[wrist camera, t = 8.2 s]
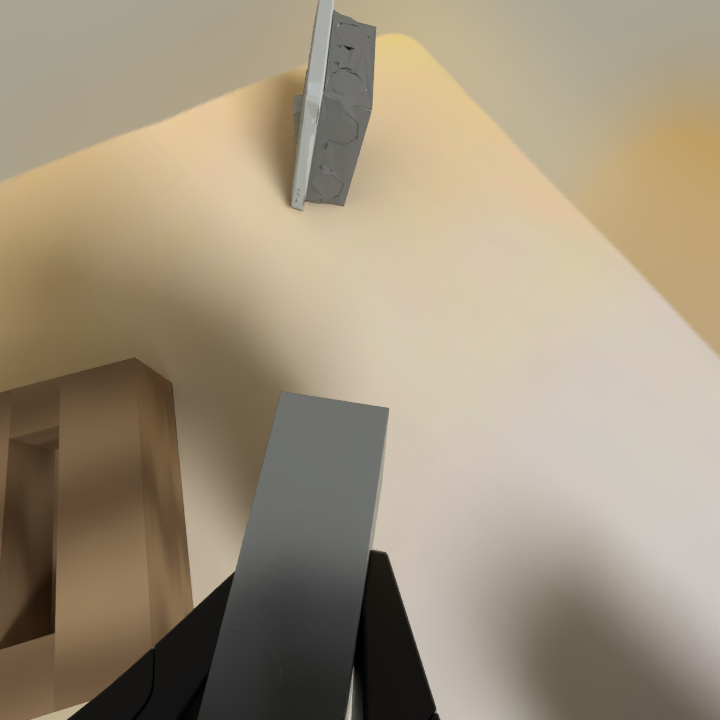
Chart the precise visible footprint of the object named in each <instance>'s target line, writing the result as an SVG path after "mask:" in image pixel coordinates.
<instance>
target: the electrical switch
mask: <svg viewBox="0 0 720 720" xmlns="http://www.w3.org/2000/svg"><path fill="white" fill-rule="evenodd" d="M333 6H334V0H319V1H318V6H317V11H316V16H315V22H314V27H313V34H312V42H311V49H310V55H309V62H308V69H307V72H306V78H305V85H304V93H303V95H295V100H294V104H293V115H294V125H295V135H296V144H297V149H296V157H295V166H294V174H293V182H292V195H291V204H292V207H293V208H296V209H299V210H302V211H303V210H304V203H305V200H309V201H313V202H318V203H330V204H335V205H341V206H344V204H345V200H346V197H347V193H348V190H349V187H350V183H351V180H352V176H353V173H354V169H355V166H356V163H357V159H358V156H359V152H360V149H361V145H362V142H363V139H364V135H365V132H366V128H367V125H368V122H369V118H370V115H371V111H369V110H372V101H373V80H374V60H375V39H376V27H375V26H371V25H367V24H363V23H359V22H356V21H355V20H353V19H352V18H350V17H347V16H344V15H341V14H339V13H338V12H336V11H335V10H333ZM366 88H367V90H366ZM365 90H366V91H365ZM357 106H358V107H357ZM360 107H362V108H360ZM363 108H365V109H363ZM366 109H368V110H366ZM355 138H356V139H355ZM354 139H355V140H354Z"/></svg>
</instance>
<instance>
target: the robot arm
mask: <svg viewBox="0 0 720 720" xmlns="http://www.w3.org/2000/svg"><path fill="white" fill-rule="evenodd" d="M234 574H235V572H234V573H233V574H231V575H230V576H229V577H228V578H227V579H226V580H225V581H224V582H223V583H222V584H221V585H220V586H218V587H217V588H216V589H215V590H214V591H213V592H212V593H211V594H210V595H209V596H208V597H206V598H205V599H204V600H203V601H202V602H201V603H200V604H199V605H198V606H197V607H196V608H195V609H193V610H192V611H191V612H190V613H189V614H188V615H187V616H186V617H185V618H184V619H183V620H181V621H180V622H179V623H178V624H177V625H176V626H175V627H174V628H173V629H172V630H171V631H169V632H168V633H167V634H166V635H165V636H164V637H163V638H162V639H161V640H160V641H159V642H158V643H156V644H155V647H154V648H151V649H150V650H149V651H147V652H146V653H145V654H144V655H143V656H142V657H141V658H140V659H139V660H138V661H137V662H136V663H134V664H133V665H132V666H131V667H130V668H129V669H128V670H127V671H125V672H124V673H123V674H122V675H121V676H120V677H119V678H117V679H116V680H115V681H114V682H113V683H112V684H111V685H109V686H108V687H107V688H106V689H105V690H103V691H102V692H101V693H100V694H98V695H97V696H96V697H95V698H94V699H92V700H91V701H90V702H89V703H87V704H86V705H85V706H84V707H82V708H81V709H80V710H79V711H77V712H76V713H75V714H74V715H72V716H71V717H70V718H69V719H67V720H197V719H198V715H199V711H200V707H201V703H202V699H203V695H204V692H205V688H206V684H207V680H208V676H209V672H210V668H211V664H212V660H213V656H214V652H215V649H216V645H217V641H218V637H219V633H220V629H221V625H222V621H223V617H224V613H225V609H226V606H227V602H228V598H229V594H230V590H231V586H232V582H233V578H234ZM351 720H440V718H439V715H438V713H436V706H435V703H434V699H433V696H432V693H431V690H430V687H429V684H428V680H427V677H426V674H425V671H424V668H423V665H422V661H421V658H420V655H419V652H418V649H417V645H416V642H415V639H414V636H413V633H412V630H411V626H410V623H409V620H408V617H407V614H406V611H405V607H404V604H403V601H402V598H401V595H400V592H399V588H398V585H397V582H396V579H395V576H394V573H393V569H392V566H391V563H390V560H389V557H388V555H387V553H386V552H382V551H377V550H370V557H369V563H368V569H367V576H366V582H365V589H364V595H363V602H362V609H361V616H360V623H359V631H358V638H357V645H356V653H355V660H354V671H353V694H352V717H351Z"/></svg>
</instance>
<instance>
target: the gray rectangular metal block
mask: <svg viewBox="0 0 720 720" xmlns="http://www.w3.org/2000/svg"><path fill="white" fill-rule="evenodd" d="M388 415H389V408H385V407H379V406H372V405H366V404H359V403H353V402H346V401H340V400H333V399H327V398H320V397H314V396H307V395H301V394H294V393H288V392H281V394H280V398H279V402H278V406H277V410H276V414H275V418H274V422H273V426H272V430H271V433H270V437H269V441H268V445H267V449H266V453H265V457H264V461H263V465H262V469H261V473H260V476H259V480H258V484H257V488H256V492H255V496H254V500H253V504H252V508H251V512H250V516H249V520H248V523H247V527H246V531H245V535H244V539H243V543H242V547H241V551H240V555H239V559H238V563H237V566H236V570H235V574H234V578H233V582H232V586H231V590H230V594H229V598H228V602H227V606H226V609H225V613H224V617H223V621H222V625H221V629H220V633H219V637H218V641H217V645H216V649H215V652H214V656H213V660H212V664H211V668H210V672H209V676H208V680H207V684H206V688H205V692H204V695H203V699H202V703H201V707H200V711H199V715H198V719H197V720H348V714H349V707H350V700H351V693H352V686H353V671H354V660H355V653H356V645H357V638H358V631H359V623H360V616H361V609H362V602H363V595H364V589H365V582H366V576H367V569H368V563H369V557H370V550H372V547H373V540H374V534H375V527H376V520H377V513H378V506H379V499H380V492H381V485H382V477H383V467H384V456H385V446H386V436H387V425H388Z"/></svg>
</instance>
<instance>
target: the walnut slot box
mask: <svg viewBox="0 0 720 720" xmlns="http://www.w3.org/2000/svg"><path fill="white" fill-rule="evenodd" d="M192 610H193V600H192V590H191V579H190V569H189V559H188V548H187V538H186V527H185V517H184V506H183V496H182V485H181V475H180V464H179V454H178V443H177V433H176V422H175V412H174V401H173V391H172V383H171V382H169V381H168V380H166V379H165V378H164V377H162V376H161V375H159V374H158V373H156V372H155V371H153V370H152V369H151V368H149V367H148V366H146V365H145V364H143V363H142V362H140V361H139V360H138V359H136V358H132V359H128V360H124V361H120V362H117V363H113V364H109V365H105V366H101V367H97V368H93V369H90V370H86V371H82V372H78V373H74V374H70V375H66V376H63V377H59V378H55V379H51V380H47V381H43V382H39V383H36V384H32V385H28V386H24V387H20V388H16V389H12V390H9V391H5V392H1V393H0V720H30V719H33V718H37V717H40V716H43V715H46V714H49V713H53V712H56V711H59V710H62V709H65V708H69V707H72V706H75V705H78V704H81V703H85V702H88V701H91V700H92V699H94V698H95V697H96V696H97V695H98V694H100V693H101V692H102V691H103V690H105V689H106V688H107V687H108V686H109V685H111V684H112V683H113V682H114V681H115V680H116V679H117V678H119V677H120V676H121V675H122V674H123V673H124V672H125V671H127V670H128V669H129V668H130V667H131V666H132V665H133V664H134V663H136V662H137V661H138V660H139V659H140V658H141V657H142V656H143V655H144V654H145V653H146V652H147V651H149V650H150V649H151V648H154V647H155V644H156V643H158V642H159V641H160V640H161V639H162V638H163V637H164V636H165V635H166V634H167V633H168V632H169V631H171V630H172V629H173V628H174V627H175V626H176V625H177V624H178V623H179V622H180V621H181V620H183V619H184V618H185V617H186V616H187V615H188V614H189V613H190V612H191V611H192Z"/></svg>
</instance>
